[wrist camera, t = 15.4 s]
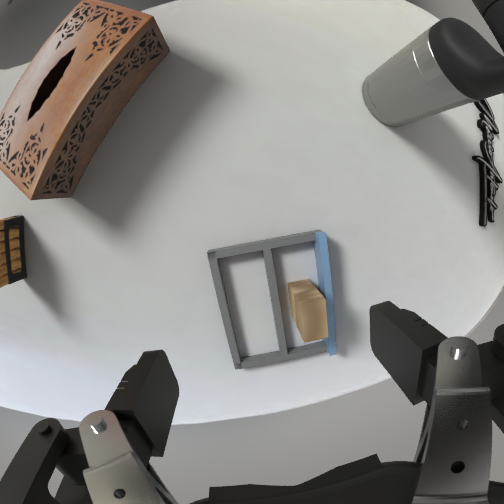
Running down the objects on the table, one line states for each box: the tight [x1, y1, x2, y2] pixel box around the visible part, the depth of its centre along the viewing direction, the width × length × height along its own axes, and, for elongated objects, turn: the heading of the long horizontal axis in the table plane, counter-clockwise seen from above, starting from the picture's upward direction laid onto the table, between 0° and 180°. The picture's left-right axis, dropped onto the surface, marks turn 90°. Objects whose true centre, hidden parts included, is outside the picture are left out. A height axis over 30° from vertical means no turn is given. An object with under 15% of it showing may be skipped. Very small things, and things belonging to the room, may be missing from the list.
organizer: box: [207, 230, 336, 369], centre depth 37 cm, size 15×18×3 cm
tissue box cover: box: [0, 0, 170, 200], centre depth 26 cm, size 26×14×10 cm, turn 145°
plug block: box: [288, 279, 328, 343], centre depth 35 cm, size 3×5×8 cm, turn 10°
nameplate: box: [472, 99, 502, 227], centre depth 35 cm, size 27×2×10 cm
